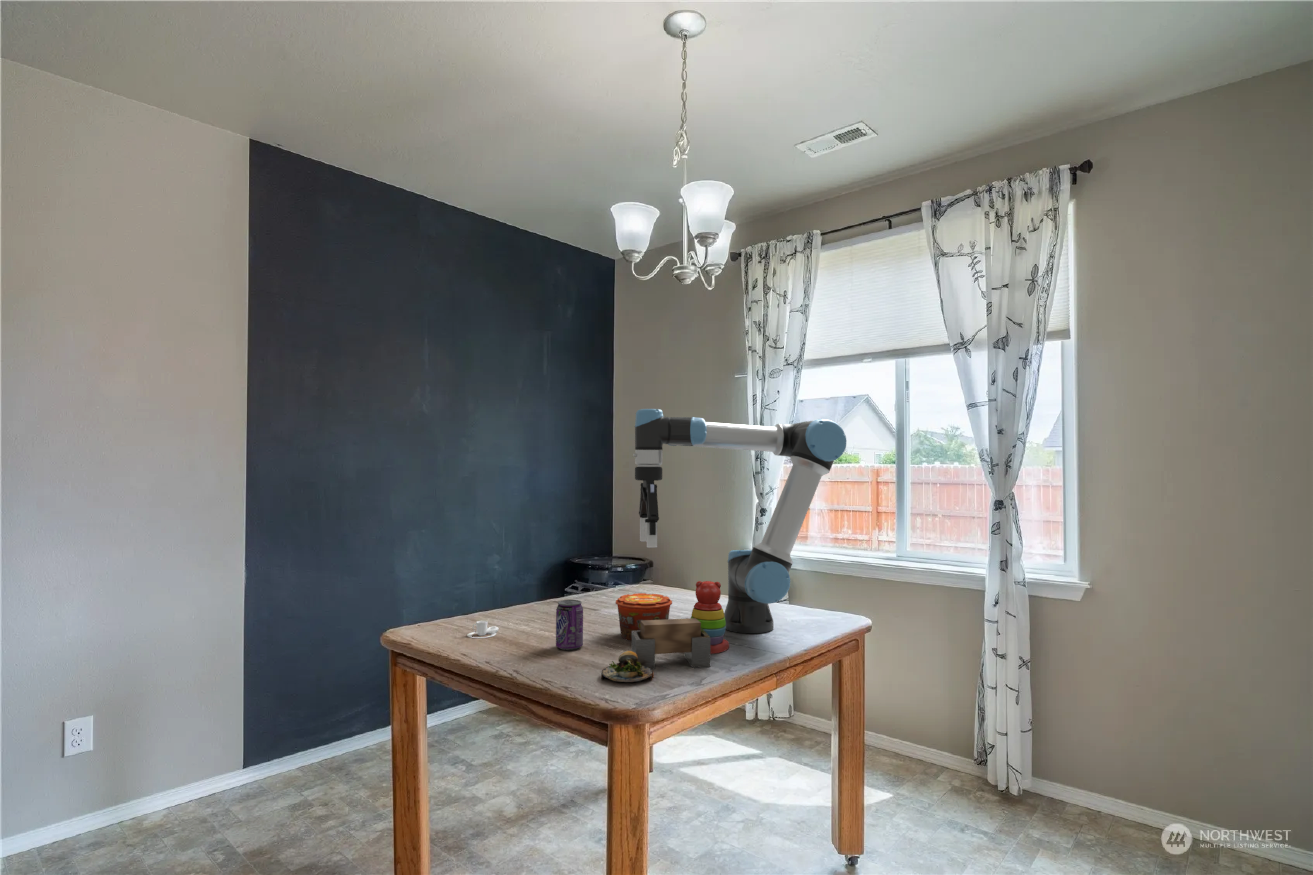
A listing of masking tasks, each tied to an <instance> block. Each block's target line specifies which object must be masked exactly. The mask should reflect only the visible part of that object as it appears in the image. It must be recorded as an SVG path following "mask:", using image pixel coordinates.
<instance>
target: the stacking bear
mask: <svg viewBox="0 0 1313 875" xmlns="http://www.w3.org/2000/svg"><path fill="white" fill-rule="evenodd" d="M721 585H722V584H721V583H720V582H719V581H711V580H705V581H702V580H697V581H696V583H695V587H696V588H695V598H696V600H697V601H696V602H695V603H694V605H693V608H692V610H691V616H690V618H696V619H697V620H698V621H699V622H701V628H702V629H703V630H704V631H705V632H706V633H707V634H708V635H709V636H710V655H712V654H713V655H714V654H719V653H723V652H725V651H727V650H728V649H729V648H730V642H729V641H728V640H727V639H725V637H724V636H725V634H726V629H725V628H726V626H725V625H726V621H725V617H724V612H725V610H724V609H723V607H722V605H721V603H720V602H719V600H720V599H721V595H722V592H721V591H722V590H721Z"/></svg>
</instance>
